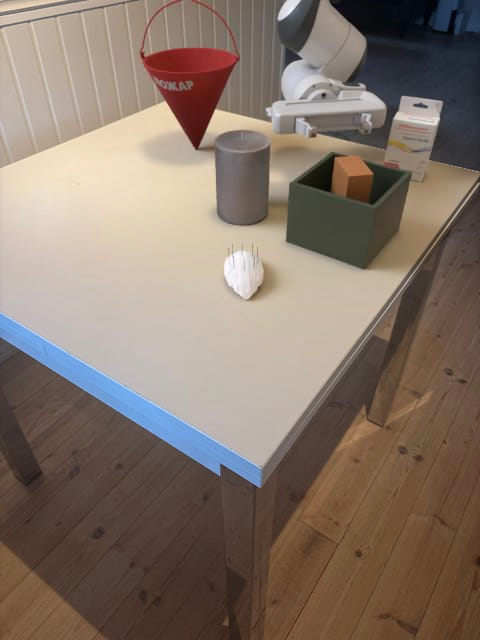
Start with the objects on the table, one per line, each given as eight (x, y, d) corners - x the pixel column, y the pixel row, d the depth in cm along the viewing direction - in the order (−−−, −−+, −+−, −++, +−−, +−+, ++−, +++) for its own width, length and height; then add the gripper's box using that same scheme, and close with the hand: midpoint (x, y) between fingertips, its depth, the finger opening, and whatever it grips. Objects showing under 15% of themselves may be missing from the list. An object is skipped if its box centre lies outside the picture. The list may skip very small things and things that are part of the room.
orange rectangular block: (348, 220, 87) (358, 155, 79) (361, 241, 82) (373, 174, 74) (326, 222, 87) (334, 157, 79) (338, 243, 82) (348, 176, 74)
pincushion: (222, 256, 81) (221, 226, 77) (259, 254, 81) (260, 224, 77) (225, 302, 72) (224, 270, 68) (267, 300, 72) (268, 268, 68)
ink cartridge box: (380, 175, 103) (394, 102, 93) (385, 165, 106) (400, 94, 96) (422, 182, 100) (441, 108, 90) (426, 172, 103) (445, 100, 93)
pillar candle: (215, 201, 95) (211, 123, 85) (265, 198, 96) (267, 120, 86) (218, 227, 88) (215, 145, 78) (272, 224, 88) (275, 142, 78)
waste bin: (325, 206, 93) (331, 151, 86) (398, 229, 86) (412, 171, 79) (285, 241, 84) (289, 183, 77) (364, 269, 78) (376, 208, 70)
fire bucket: (137, 162, 109) (112, 4, 89) (167, 130, 123) (151, -13, 103) (231, 171, 105) (227, 7, 85) (250, 136, 119) (251, -11, 99)
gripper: (263, 89, 88) (280, 116, 78) (371, 83, 90) (401, 108, 80) (262, 124, 92) (278, 154, 82) (366, 117, 94) (394, 145, 84)
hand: (340, 131), depth 81 cm, fingers open, 8 cm apart
